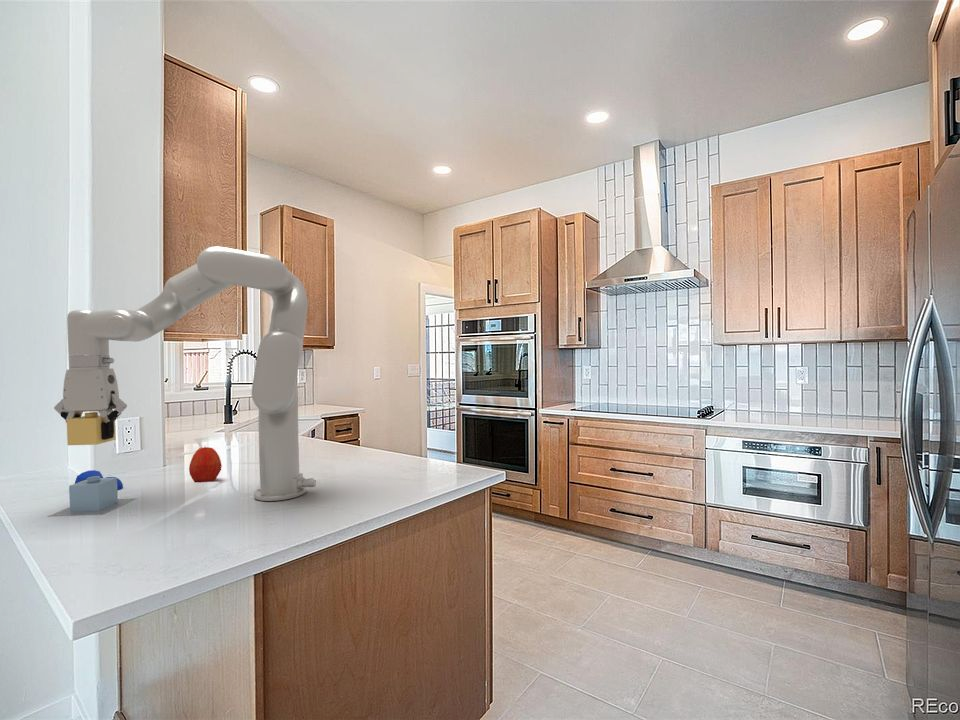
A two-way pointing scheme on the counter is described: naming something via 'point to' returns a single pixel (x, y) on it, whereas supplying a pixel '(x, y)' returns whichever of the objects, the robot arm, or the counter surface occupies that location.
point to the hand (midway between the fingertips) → (92, 438)
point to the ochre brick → (86, 430)
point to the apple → (205, 465)
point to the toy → (92, 473)
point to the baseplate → (67, 511)
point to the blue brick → (93, 494)
